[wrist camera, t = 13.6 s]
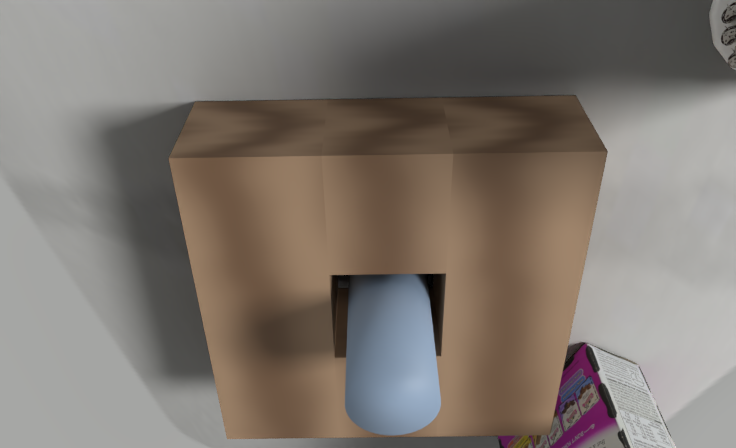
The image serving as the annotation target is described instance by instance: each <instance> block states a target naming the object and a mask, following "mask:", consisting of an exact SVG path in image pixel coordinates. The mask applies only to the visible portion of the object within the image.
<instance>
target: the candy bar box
mask: <svg viewBox="0 0 736 448" xmlns="http://www.w3.org/2000/svg"><path fill="white" fill-rule="evenodd" d="M498 440H499V444H500V448H676V446H675V443H674V441H673V440H672V438H671V435H670V433H669V431H668V429H667V426H666V424H665V422H664V420H663V417H662V415H661V413H660V411H659V409H658V406H657V404H656V402H655V400H654V397H653V395H652V393H651V391H650V389H649V386H648V384H647V382H646V380H645V378H644V375H643V373H642V371H641V369H640V367H639V365H638V364H636V363H634V362H632V361H630V360H628V359H625V358H623V357H619V356H616V355H614V354H611V353H609V352H607V351H605V350H602V349H600V348H598V347H595V346H592V345H590V344H588V343H585V344H584V345H583V346H582V347H581V348H580V349H579V350H578V351H577V352H576V353H575V354H574V355H573V356H572V357H571V358H570V359H569V360H568V361H567V362H566V364H565V365H564V367H563V372H562V377H561V382H560V387H559V392H558V397H557V402H556V407H555V411H554V416H553V421H552V426H551V431H550V435H528V436H498Z"/></svg>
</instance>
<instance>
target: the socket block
mask: <svg viewBox="0 0 736 448" xmlns="http://www.w3.org/2000/svg"><path fill="white" fill-rule="evenodd" d="M607 152H608V151H607V149H606V148H605V146H604V144H603V143H602V141H601V139H600V137H599V136H598V134H597V132H596V130H595V129H594V127H593V125H592V123H591V122H590V120H589V118H588V116H587V115H586V113H585V111H584V109H583V108H582V106H581V104H580V102H579V101H578V99H577V97H576V95H569V96H508V97H448V98H387V99H326V100H265V101H204V102H195V103H194V105H193V107H192V109H191V111H190V114H189V116H188V118H187V120H186V122H185V124H184V126H183V128H182V131H181V133H180V135H179V137H178V139H177V141H176V143H175V145H174V148H173V150H172V152H171V154H170V156H169V163H170V168H171V173H172V178H173V182H174V187H175V192H176V197H177V201H178V206H179V211H180V216H181V221H182V225H183V230H184V235H185V240H186V245H187V249H188V254H189V259H190V264H191V269H192V273H193V278H194V283H195V288H196V293H197V297H198V302H199V307H200V312H201V316H202V321H203V326H204V331H205V336H206V340H207V345H208V350H209V355H210V360H211V364H212V369H213V374H214V379H215V384H216V388H217V393H218V398H219V403H220V407H221V412H222V417H223V422H224V427H225V431H226V436H227V439H266V438H353V437H441V436H528V435H550V431H551V426H552V421H553V416H554V411H555V407H556V402H557V397H558V392H559V387H560V382H561V377H562V372H563V367H564V363H565V358H566V353H567V348H568V343H569V338H570V333H571V328H572V323H573V318H574V314H575V309H576V304H577V299H578V294H579V289H580V284H581V279H582V274H583V270H584V265H585V260H586V255H587V250H588V245H589V240H590V235H591V230H592V225H593V221H594V216H595V211H596V206H597V201H598V196H599V191H600V186H601V181H602V177H603V172H604V167H605V162H606V157H607ZM370 274H434V277H433V287H428V288H429V297H430V306H431V315H432V324H433V333H434V342H435V351H436V360H437V369H438V378H439V387H440V396H441V407H440V410H439V413H438V415H437V416H436V417H435V419H434V420H433V421H432V422H431V423H430V424H428V425H427V426H425V427H424V428H422V429H420V430H417V431H415V432H412V433H408V434H403V435H380V434H375V433H372V432H369V431H366V430H364V429H362V428H360V427H359V426H357V425H356V424H355V423H354V422H353V421H352V420H351V419H350V418H349V416H348V415H347V413H346V410H345V381H346V351H347V321H348V291H349V288H338V276H337V275H370Z"/></svg>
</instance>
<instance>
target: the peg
mask: <svg viewBox="0 0 736 448" xmlns="http://www.w3.org/2000/svg"><path fill="white" fill-rule="evenodd" d="M440 407H441V396H440V387H439V378H438V369H437V360H436V351H435V342H434V333H433V324H432V315H431V306H430V297H429V288H428V279H427V274H370V275H349V291H348V321H347V351H346V381H345V410H346V413H347V415H348V416H349V418H350V419H351V420H352V421H353V422H354V423H355V424H356V425H357V426H359V427H360V428H362V429H364V430H366V431H369V432H372V433H375V434H380V435H403V434H408V433H412V432H415V431H417V430H420V429H422V428H424V427H425V426H427V425H428V424H430V423H431V422H432V421H433V420H434V419H435V417H436V416H437V415H438V413H439V410H440Z"/></svg>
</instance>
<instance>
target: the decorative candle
mask: <svg viewBox="0 0 736 448" xmlns="http://www.w3.org/2000/svg"><path fill="white" fill-rule="evenodd" d="M709 19H710V26H711V33H712V40H713V45H714V46H715V47H716V49H717V50H718V51H719V53H720V54H721V55H722V57H723V58H724V59H725V61H726V62H727V63H728V65H729V66H730V67H731V68H732V69H734V70H736V0H713V1H712V5H711V8H710V12H709Z"/></svg>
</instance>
